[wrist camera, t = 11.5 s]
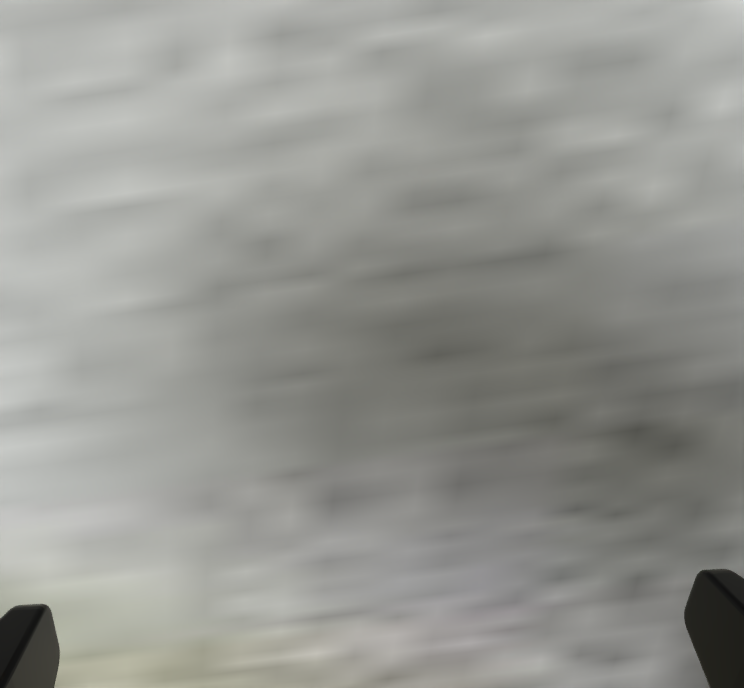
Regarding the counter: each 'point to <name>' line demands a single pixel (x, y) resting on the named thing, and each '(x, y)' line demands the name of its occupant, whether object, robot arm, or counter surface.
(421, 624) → the counter surface
